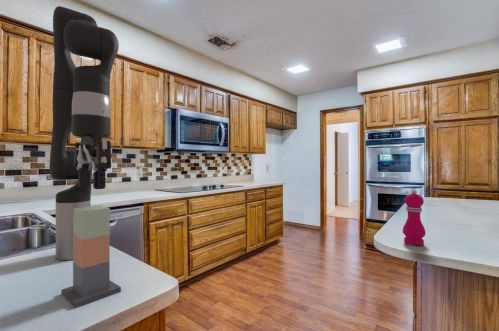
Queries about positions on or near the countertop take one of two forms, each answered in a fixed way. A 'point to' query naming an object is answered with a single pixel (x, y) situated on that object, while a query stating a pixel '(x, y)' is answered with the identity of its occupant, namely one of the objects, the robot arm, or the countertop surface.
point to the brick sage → (91, 222)
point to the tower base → (89, 297)
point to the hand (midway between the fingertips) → (91, 187)
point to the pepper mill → (414, 220)
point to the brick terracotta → (91, 251)
